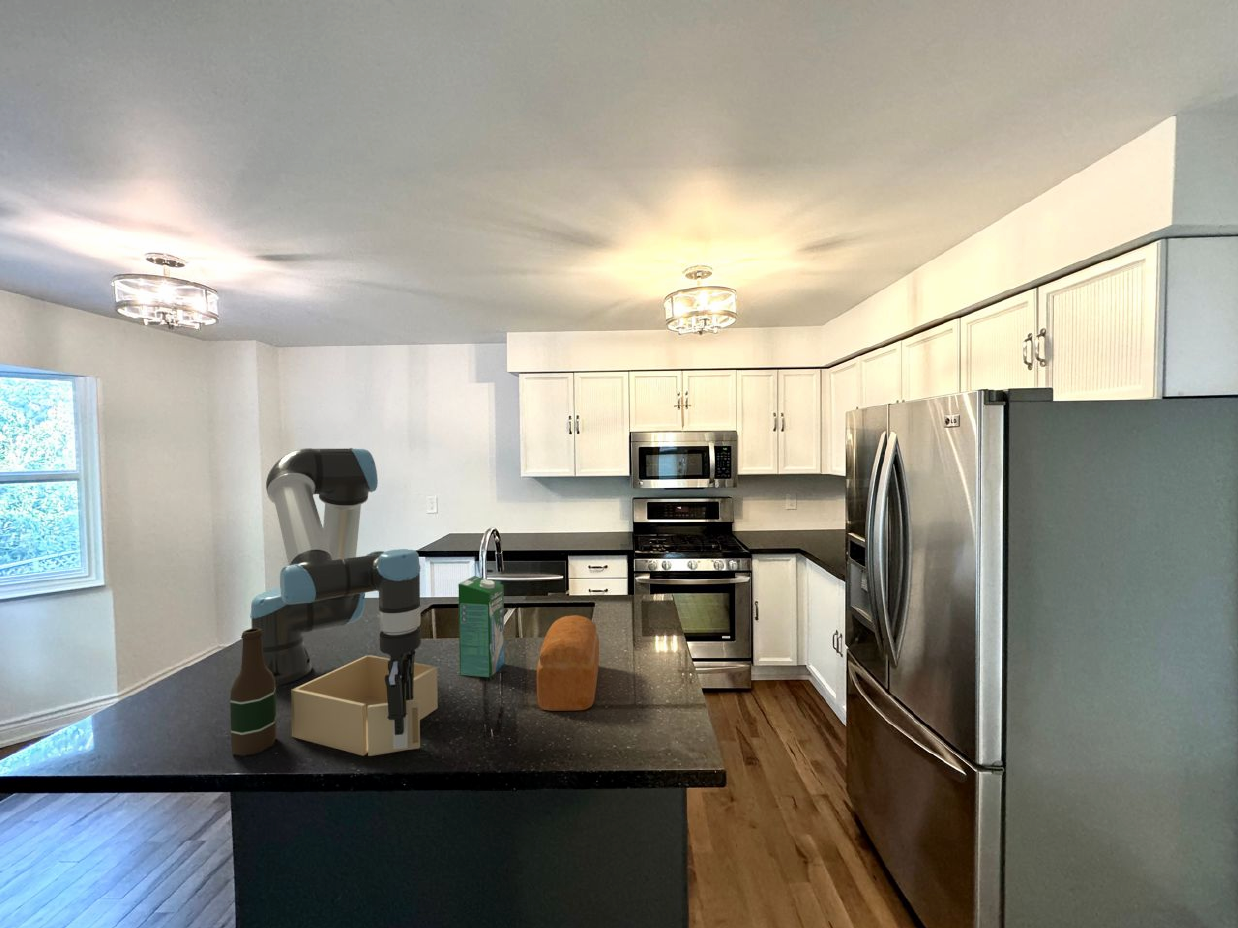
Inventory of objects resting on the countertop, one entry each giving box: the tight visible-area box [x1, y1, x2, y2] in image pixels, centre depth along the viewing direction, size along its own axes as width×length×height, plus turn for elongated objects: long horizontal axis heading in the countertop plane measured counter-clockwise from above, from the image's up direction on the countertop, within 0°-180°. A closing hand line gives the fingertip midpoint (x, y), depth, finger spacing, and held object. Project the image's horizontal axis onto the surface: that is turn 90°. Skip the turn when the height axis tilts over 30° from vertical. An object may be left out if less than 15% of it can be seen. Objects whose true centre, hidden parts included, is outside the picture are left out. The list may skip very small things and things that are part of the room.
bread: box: [536, 614, 600, 712], centre depth 130 cm, size 14×26×16 cm, turn 179°
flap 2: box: [413, 666, 439, 721], centre depth 114 cm, size 1×9×10 cm, turn 159°
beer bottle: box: [229, 628, 278, 757], centre depth 104 cm, size 8×8×24 cm
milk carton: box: [457, 575, 505, 678], centre depth 140 cm, size 9×9×25 cm
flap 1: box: [367, 699, 421, 757], centre depth 101 cm, size 1×9×10 cm, turn 105°
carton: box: [290, 654, 434, 756], centre depth 113 cm, size 20×20×10 cm
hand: (402, 744), depth 102 cm, fingers open, 1 cm apart
